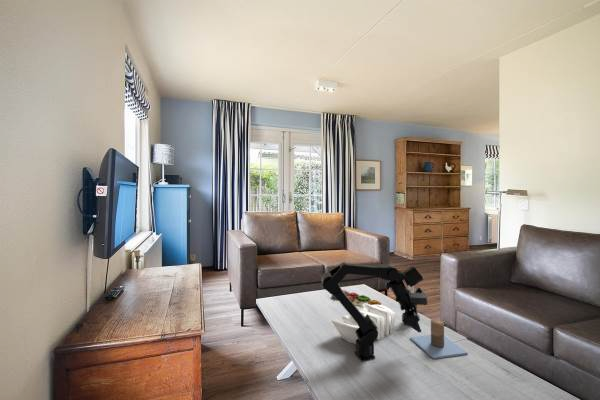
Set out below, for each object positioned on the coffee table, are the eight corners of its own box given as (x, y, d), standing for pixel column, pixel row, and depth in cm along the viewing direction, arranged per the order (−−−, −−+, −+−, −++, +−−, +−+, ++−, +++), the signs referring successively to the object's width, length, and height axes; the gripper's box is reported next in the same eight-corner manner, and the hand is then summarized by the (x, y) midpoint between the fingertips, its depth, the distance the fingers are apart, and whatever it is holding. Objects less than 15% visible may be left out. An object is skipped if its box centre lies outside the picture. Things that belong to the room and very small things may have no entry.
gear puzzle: (385, 303, 171) (385, 297, 171) (374, 312, 159) (374, 305, 159) (341, 292, 191) (341, 286, 191) (328, 299, 179) (328, 293, 179)
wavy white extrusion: (355, 353, 117) (355, 328, 117) (328, 337, 131) (328, 315, 130) (403, 329, 138) (403, 307, 138) (376, 317, 152) (376, 298, 151)
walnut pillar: (441, 349, 119) (441, 325, 118) (428, 344, 122) (428, 321, 122) (446, 344, 122) (446, 321, 122) (434, 340, 126) (434, 318, 126)
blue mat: (433, 359, 113) (433, 357, 113) (410, 339, 129) (410, 337, 129) (467, 354, 116) (467, 352, 116) (441, 335, 132) (441, 333, 132)
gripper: (422, 298, 104) (442, 334, 104) (417, 275, 121) (435, 306, 122) (394, 307, 108) (413, 342, 108) (393, 284, 125) (410, 314, 126)
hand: (419, 324), depth 116 cm, fingers open, 9 cm apart
